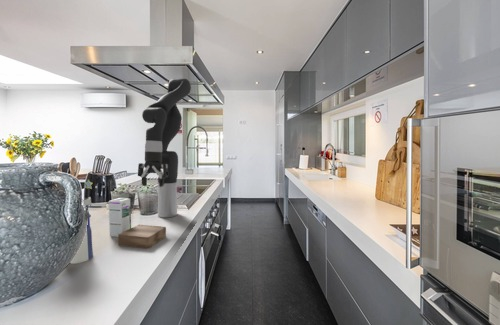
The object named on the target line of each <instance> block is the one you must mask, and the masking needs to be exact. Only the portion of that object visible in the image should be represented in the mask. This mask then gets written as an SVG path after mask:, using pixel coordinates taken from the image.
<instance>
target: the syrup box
mask: <svg viewBox="0 0 500 325" xmlns="http://www.w3.org/2000/svg"><path fill="white" fill-rule="evenodd" d="M131 212H132V211H131V198H128V197H118V198H114V199H111V200H109V201H108V218H109V220H108V221H109V222H108V223H109V236H110V237H116V238H118V234H120V233H122V232H124V231H127V230H129V229H131V228H132V213H131Z"/></svg>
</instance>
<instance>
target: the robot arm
mask: <svg viewBox="0 0 500 325" xmlns="http://www.w3.org/2000/svg"><path fill="white" fill-rule="evenodd" d="M191 90H192V87H191V83H190V80H188V79H187V78H184V77H183V78H172V79H170V80H169V81H168V85H167V92H166V93H165V94H164V95H162V96H160V98H159V99H158V100H157V101H155V102H154V103H151V104H149V105H148V106H146V107H145V108H144V110H143V111H142V116H141V117H142V119H143V121H144V122H145V123H147V124H154V125H153V127H150V128H147V129H146V131H145V144H144V163H142V162H141V163H138V164H137V165H138V169H137V176H138V177H140V178H141V185H142V187H146V186H148V185H147V183H148V182H147V181H148V178H147V177H148V175H150V174H156V175H157V176H158V178H157V217H159V218H163V219H164V218H173V217H176V216H178V193H177V192H178V186H177V184H178V174H179V173H178V172H179V157H178V153H177V152H176V151H173V150H168V148H169V145H170V143H171V142H172V141H173V139H174V138H175V137H176V136H177V134H178V133H179V132H180V130H181V125H182V121H183V120H182V119H183V118H182V113H181V112H180V110H179V108H178V105H177V103H178V102H180V101H181V100H183V99H184V98H185V97H187V96H188V95H189V94H190V92H191Z"/></svg>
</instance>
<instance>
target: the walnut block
mask: <svg viewBox="0 0 500 325" xmlns="http://www.w3.org/2000/svg"><path fill="white" fill-rule="evenodd" d="M166 237H167V227H166V226H162V225H161V226H158V225H149V224H136V225H135V226H133V227H131V229H129V230H127V231H124V232H122V233H120V234H118V237H117V238H118V239H117V240H118V241H117V242H118V246H123V247H129V248H130V247H131V248H140V249H150V248H152V247H153V246H154V245H156V244H158V243H159V242H160V241H162V240H163V239H165V238H166Z"/></svg>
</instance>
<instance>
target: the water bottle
mask: <svg viewBox="0 0 500 325" xmlns="http://www.w3.org/2000/svg"><path fill="white" fill-rule="evenodd" d="M84 185H86V189H91V190H92V189H93V188H92V185H93V182H91V181H90V179H87V181H85V182H84ZM82 200H83V201H84V204H85V205H86V207H87V210H88V225H87V231H86V235H85V238H84V240H83V243H82V245H81V247H80V249H79V251H78V253H77V254H76V256H75V257H74V259H73V260H72V262H71V264H70V265H74V264H81V263H84V262H87V261H90V260H91V259H93V257H94V252H93V251H94V250H93V238H92V237H93V236H92V227H91V223H90V222H91V221H90V220H91V217H92V216H91V214H90V211H89V207H91V206H92V205H93V204H92V198H91V196H89V197H88V198H87V199H82Z"/></svg>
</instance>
